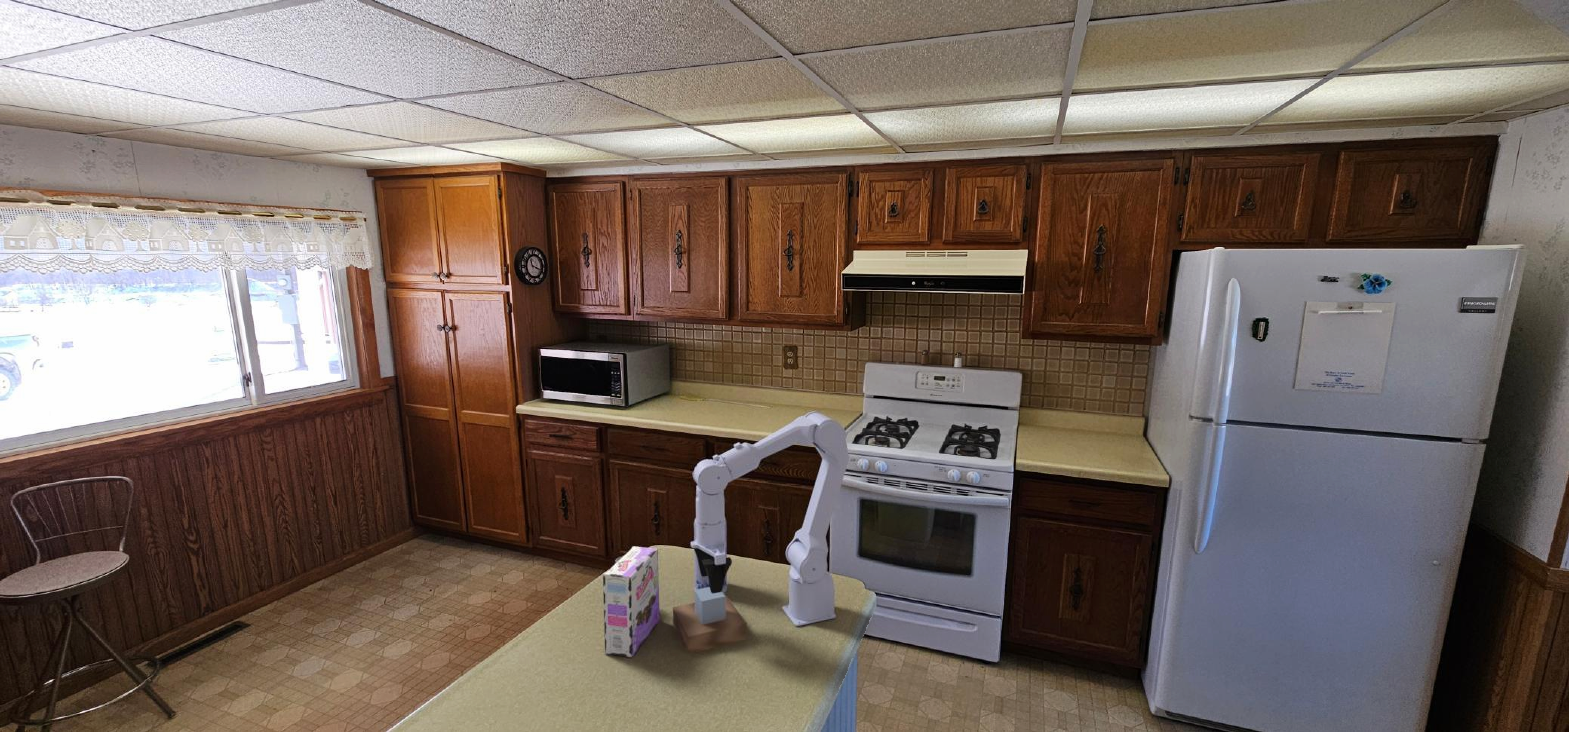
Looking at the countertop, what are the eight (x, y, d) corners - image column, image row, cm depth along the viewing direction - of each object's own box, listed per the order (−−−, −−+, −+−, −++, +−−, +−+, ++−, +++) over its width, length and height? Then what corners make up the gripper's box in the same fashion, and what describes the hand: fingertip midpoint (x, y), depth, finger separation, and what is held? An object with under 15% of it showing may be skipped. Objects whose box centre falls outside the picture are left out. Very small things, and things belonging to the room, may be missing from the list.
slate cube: (717, 607, 130) (717, 585, 129) (725, 619, 125) (725, 596, 124) (694, 612, 128) (694, 589, 127) (702, 624, 123) (701, 601, 122)
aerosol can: (732, 582, 148) (731, 502, 146) (721, 598, 141) (720, 514, 138) (701, 578, 150) (700, 499, 147) (689, 594, 142) (687, 511, 140)
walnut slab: (726, 612, 135) (726, 595, 135) (746, 641, 124) (746, 622, 124) (673, 624, 130) (672, 607, 130) (688, 655, 119) (688, 636, 119)
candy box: (632, 658, 118) (629, 576, 116) (603, 654, 119) (601, 573, 117) (660, 620, 131) (659, 546, 129) (635, 617, 132) (633, 544, 130)
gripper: (682, 510, 129) (683, 571, 131) (700, 536, 116) (701, 603, 118) (715, 505, 132) (715, 565, 134) (735, 530, 119) (736, 596, 120)
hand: (711, 583), depth 126 cm, fingers open, 7 cm apart
